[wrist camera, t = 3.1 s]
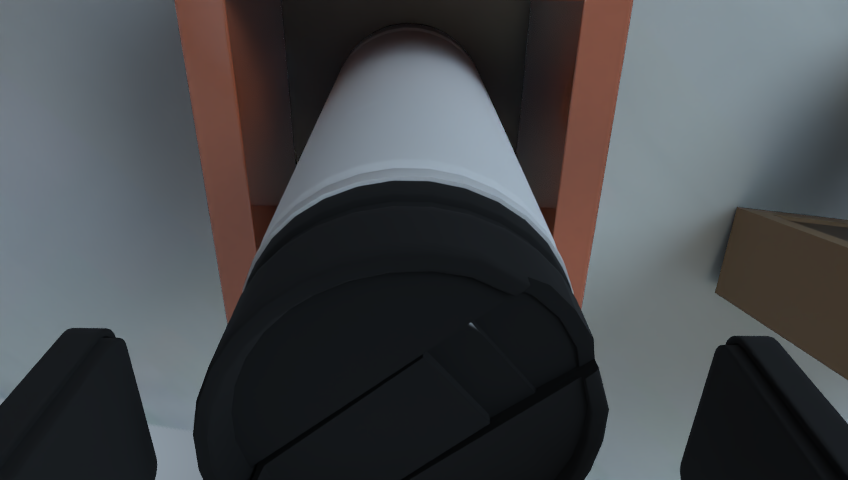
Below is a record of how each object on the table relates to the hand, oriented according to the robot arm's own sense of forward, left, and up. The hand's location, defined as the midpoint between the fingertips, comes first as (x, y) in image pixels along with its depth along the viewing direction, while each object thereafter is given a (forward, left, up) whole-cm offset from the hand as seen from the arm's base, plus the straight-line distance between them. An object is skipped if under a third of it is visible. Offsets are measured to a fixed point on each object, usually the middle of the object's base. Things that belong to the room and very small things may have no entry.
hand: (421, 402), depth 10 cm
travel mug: (0, 0, -19) cm, 19 cm away
